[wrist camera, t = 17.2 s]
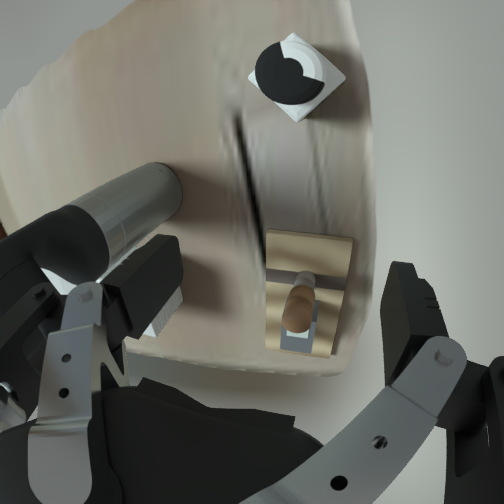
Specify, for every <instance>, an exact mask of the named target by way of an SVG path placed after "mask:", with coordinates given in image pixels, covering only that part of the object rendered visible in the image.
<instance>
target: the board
mask: <svg viewBox="0 0 504 504" xmlns="http://www.w3.org/2000/svg"><path fill="white" fill-rule="evenodd" d="M352 244H353V238H346V237H338V236H329V235H320V234H310V233H301V232H291V231H282V230H272V229H268V230H267V232H266V349H268V350H274V351H280V352H286V353H292V354H299V355H306V356H313V357H321V358H330V354H331V350H332V346H333V341H334V337H335V333H336V329H337V324H338V320H339V315H340V310H341V305H342V301H343V296H344V291H345V286H346V281H347V274H348V269H349V263H350V257H351V251H352ZM301 271H310V272H312V273H313V274H314V275H315V277H316V283H315V289H314V292H315V300H320V301H319V309H318V316H317V322H316V328H315V334H314V340H313V346H312V351H311V354H308V353H301V352H294V351H288V350H281V349H280V339H281V323H282V315H283V312H284V308H285V305H286V301H287V297H288V296H289V293H290V290H291V289H292V288H293V286H294V283H295V279H296V275H297V274H298V273H299V272H301Z"/></svg>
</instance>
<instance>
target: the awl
mask: <svg viewBox="0 0 504 504" xmlns="http://www.w3.org/2000/svg"><path fill="white" fill-rule="evenodd" d="M315 283H316V277H315V275H314V274H313V273H312V272H310V271H301V272H299V273H298V274H297V275H296V279H295V283H294V286H293V288H292V289H291V290H290V293H289V297H288V300H287V304H286V307H285V311H284V314H283V318H282V325H283V326H284V328H285V329H286V330H288V331H290V332H292V333H304V332H306V331H307V330H309V328H310V326H311V321H312V315H313V309H314V303H315V292H314V289H315Z"/></svg>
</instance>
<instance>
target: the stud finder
mask: <svg viewBox="0 0 504 504" xmlns="http://www.w3.org/2000/svg"><path fill="white" fill-rule="evenodd" d="M288 297H289V296H288ZM288 297H287V300H288ZM319 301H320V300H315V303H314V309H313V315H312V321H311V326H310V328H309V330H307V331H306V332H304V333H292V332H290V331H288V330H286V329H285V328H284V326H283V325H282V323H281V339H280V349H281V350H288V351H294V352H301V353H308V354H311V351H312V346H313V340H314V334H315V328H316V322H317V316H318V309H319ZM286 304H287V301H286ZM285 307H286V305H285ZM284 311H285V308H284ZM283 314H284V312H283ZM282 318H283V315H282Z"/></svg>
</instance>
